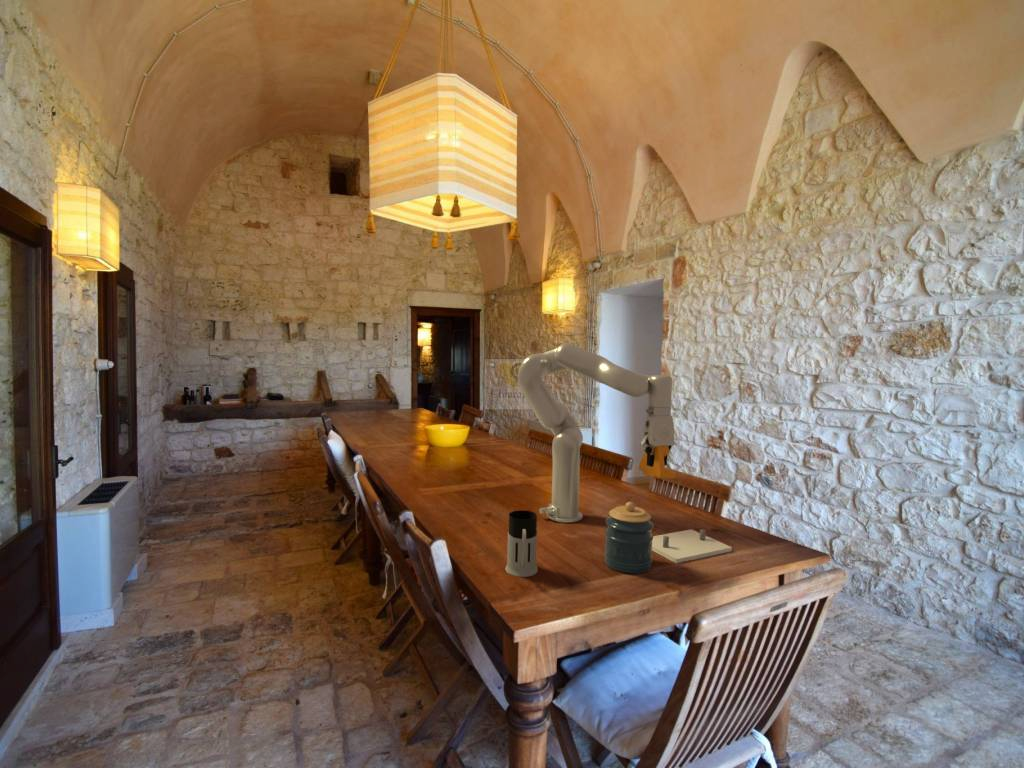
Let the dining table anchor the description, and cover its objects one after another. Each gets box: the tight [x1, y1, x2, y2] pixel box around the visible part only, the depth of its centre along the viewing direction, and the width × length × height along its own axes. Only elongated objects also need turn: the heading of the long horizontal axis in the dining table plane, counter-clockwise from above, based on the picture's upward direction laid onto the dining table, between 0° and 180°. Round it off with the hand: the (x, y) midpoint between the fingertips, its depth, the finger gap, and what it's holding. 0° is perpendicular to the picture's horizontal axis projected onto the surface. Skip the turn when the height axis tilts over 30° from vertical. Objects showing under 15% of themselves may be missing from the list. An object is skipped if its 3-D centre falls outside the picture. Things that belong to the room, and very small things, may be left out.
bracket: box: [638, 446, 677, 480], centre depth 166 cm, size 11×7×12 cm, turn 23°
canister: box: [603, 501, 654, 574], centre depth 136 cm, size 13×13×18 cm
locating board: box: [652, 528, 733, 564], centre depth 149 cm, size 22×16×4 cm
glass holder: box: [504, 509, 538, 578], centre depth 129 cm, size 9×14×15 cm, turn 2°
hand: (656, 464), depth 165 cm, fingers closed on bracket, 4 cm apart
